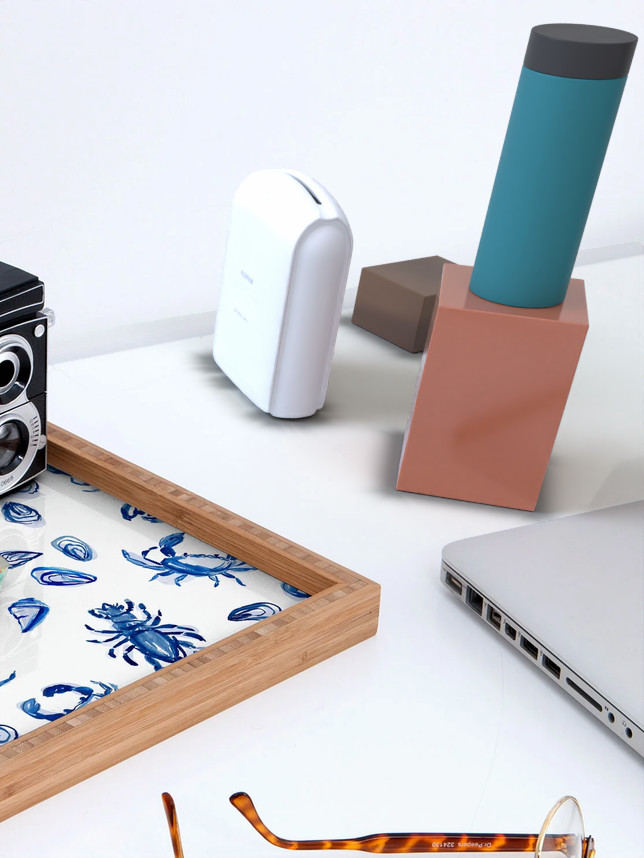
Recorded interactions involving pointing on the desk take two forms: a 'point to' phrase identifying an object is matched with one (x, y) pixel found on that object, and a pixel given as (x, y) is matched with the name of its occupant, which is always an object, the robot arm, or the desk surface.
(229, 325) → the photo printer
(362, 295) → the block
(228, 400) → the desk surface
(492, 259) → the bottle
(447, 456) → the plinth
